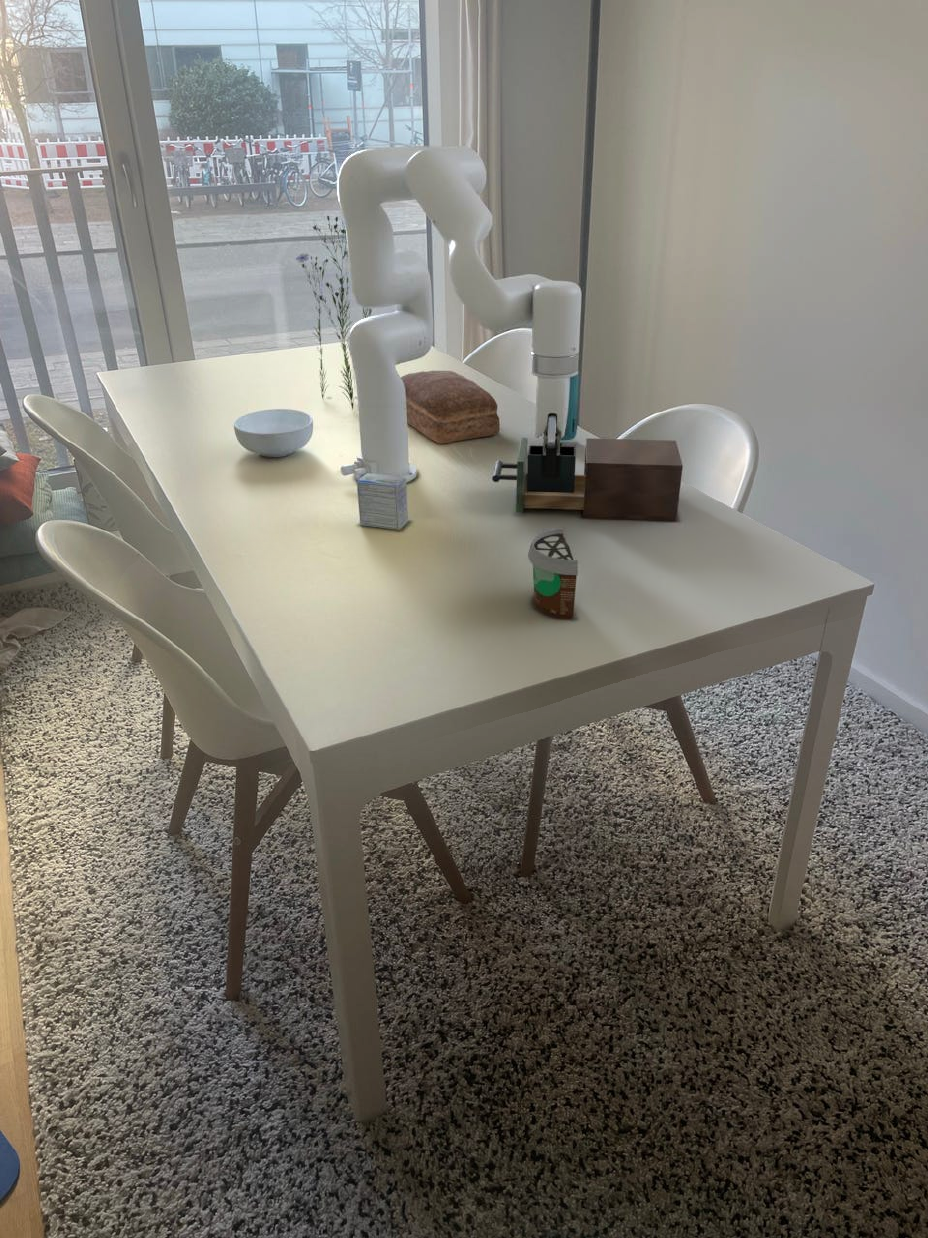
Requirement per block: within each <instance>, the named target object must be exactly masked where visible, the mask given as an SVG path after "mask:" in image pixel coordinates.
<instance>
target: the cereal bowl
mask: <svg viewBox="0 0 928 1238" xmlns="http://www.w3.org/2000/svg"><path fill="white" fill-rule="evenodd" d="M233 430H234V435H235V436H236V439H237V442H238V443H239V444H240V445H241V447H242V448H244V449H245V450H247V451H249V452H251V453H254V454H259V455H260V456H262V457H267V458H282V457H288V456H289V455H291V454H293V453H294V452H295V451H298V450H301V449H302V448H304V447H305V446H306V445H307V444H308V443H309V442H310V441H311V438H312V436H313V432H314V420H313V417H312V416H311V415H310V414H309V413H307V412H305V411H301V410H297V409H289V408H287V409H286V408H272V409H264V410H258V411H254V412H249V413H246V414H244V415H242V416H239V417H238V418H236V419H235V421H234V422H233Z"/></svg>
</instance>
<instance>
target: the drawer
mask: <svg viewBox="0 0 928 1238" xmlns="http://www.w3.org/2000/svg"><path fill="white" fill-rule="evenodd" d="M528 439H529V438H528V437H521V439H520V443H519V449H518V455H517V460H516V463H509V462H506V463H505V462H503V461H502V460H497V461H495V465H494V469H493V473H492V477H491V480H492V481H493V482H494V483H499V481H503V480H504V481H516V497H515V499H516V501H515V502H516V503H515V504H516V505H515V512H516V513H523V512H524V509H547V510H549V509H550V510H576V511H578V510H579V511H583V510H584V493H585V476H586V475H584V474H575V484H574V493H557V492H527V456H528V442H529V441H528ZM503 469H510V470H511V469H513V470H515V469H516V474H503V473H502V471H503Z"/></svg>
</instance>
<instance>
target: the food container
mask: <svg viewBox="0 0 928 1238" xmlns="http://www.w3.org/2000/svg"><path fill="white" fill-rule="evenodd" d="M564 531H565V529H564V527H559V528H552V529H548V530H544V531H541V532H540V533H538V534H537V535H535V536H534V538H533V539H532V541H531V543H530V545H529V550H528V552H527V553H528V554H527V557H528V560H529V562H530V563H531V564H532V576H533V577H532V578H533V598H534V599H533V600H534V601H533V603H534V607H535V608H536V609H537V611H539V612H540V613H542V614H544V615H546V616H549V617H552V618H557V619H564V620H565V619H567V620H570V619H571V620H573V619H574V610H575V600H576V588H577V576H578V575H579V561H578V559H574V557H573V554H572V552H571V548H570V546H569V544H568V542H567V541H566V539H565V537H564V533H565V532H564Z"/></svg>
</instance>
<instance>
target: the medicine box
mask: <svg viewBox="0 0 928 1238" xmlns="http://www.w3.org/2000/svg"><path fill="white" fill-rule="evenodd" d="M356 488H357V502H358V503H357V504H358V516H359V525H360V526H365V527H373V528H380V529H381V528H382V529H388V530H396V531H401V529H402V528H403V527H404V526H405V525H406V524H407V523H408V522H409V509H408V508H409V507H408V490H407V489H408V488H407V483H406V478H405V477H397V476H389V475H379V474H370V473H367V474H365V475H364V476H363V477H361V478H360V479H359V480H357V481H356Z"/></svg>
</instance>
